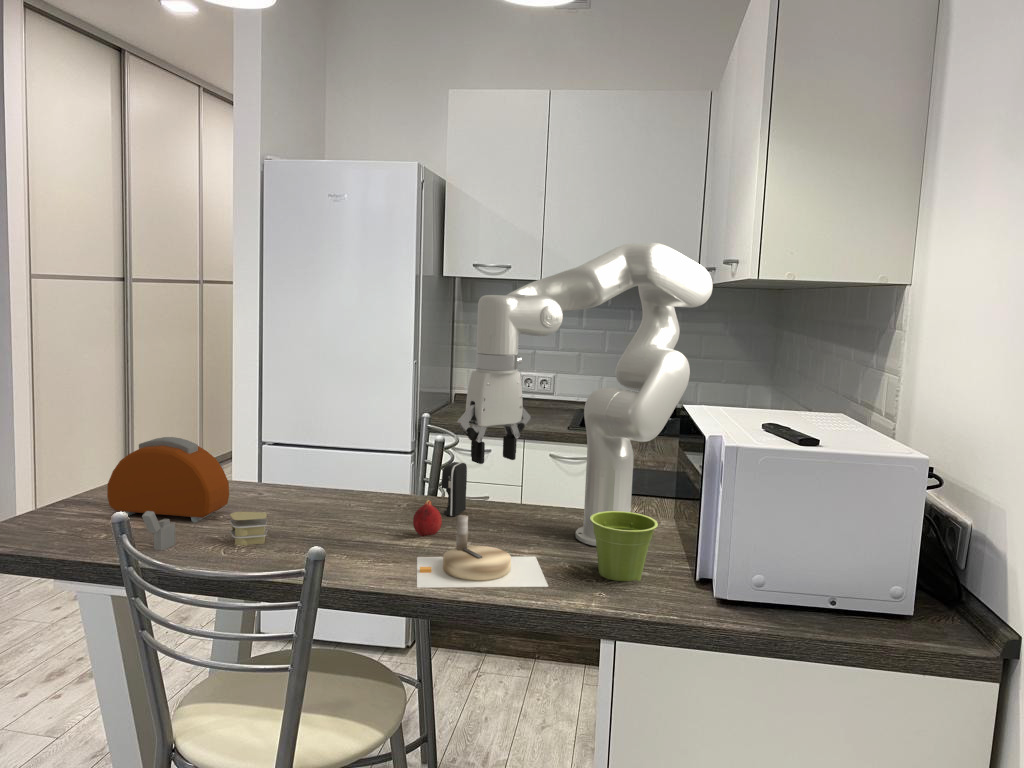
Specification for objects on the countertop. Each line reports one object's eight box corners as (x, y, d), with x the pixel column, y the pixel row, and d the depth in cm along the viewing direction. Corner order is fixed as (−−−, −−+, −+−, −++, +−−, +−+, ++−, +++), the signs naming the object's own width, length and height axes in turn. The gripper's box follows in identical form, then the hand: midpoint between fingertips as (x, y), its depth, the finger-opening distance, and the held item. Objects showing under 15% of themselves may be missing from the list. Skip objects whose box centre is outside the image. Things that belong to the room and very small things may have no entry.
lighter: (168, 543, 154) (167, 502, 153) (176, 544, 153) (175, 503, 152) (142, 554, 147) (141, 512, 146) (150, 555, 146) (149, 513, 146)
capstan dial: (524, 571, 140) (526, 527, 139) (467, 585, 133) (468, 538, 132) (485, 552, 150) (486, 510, 149) (430, 563, 143) (431, 519, 142)
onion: (436, 544, 159) (437, 505, 158) (408, 542, 160) (409, 503, 159) (444, 536, 164) (445, 498, 163) (417, 533, 165) (418, 495, 164)
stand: (535, 564, 150) (535, 553, 149) (548, 595, 135) (548, 583, 134) (416, 564, 147) (417, 553, 147) (416, 596, 132) (416, 584, 132)
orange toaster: (230, 513, 175) (230, 437, 173) (209, 524, 166) (208, 445, 164) (132, 505, 178) (130, 431, 176) (106, 516, 169) (104, 438, 167)
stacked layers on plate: (275, 535, 162) (275, 508, 162) (273, 549, 154) (273, 521, 153) (223, 536, 160) (223, 510, 159) (218, 551, 151) (218, 523, 150)
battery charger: (451, 507, 185) (452, 459, 184) (466, 509, 184) (467, 461, 183) (438, 515, 179) (440, 465, 177) (454, 517, 177) (455, 467, 176)
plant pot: (608, 597, 135) (611, 533, 133) (575, 573, 145) (578, 513, 144) (667, 589, 139) (671, 526, 138) (631, 567, 150) (634, 508, 149)
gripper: (522, 360, 153) (518, 452, 155) (445, 362, 143) (442, 461, 145) (547, 364, 147) (543, 459, 149) (468, 367, 137) (465, 469, 139)
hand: (493, 459), depth 147 cm, fingers open, 6 cm apart
